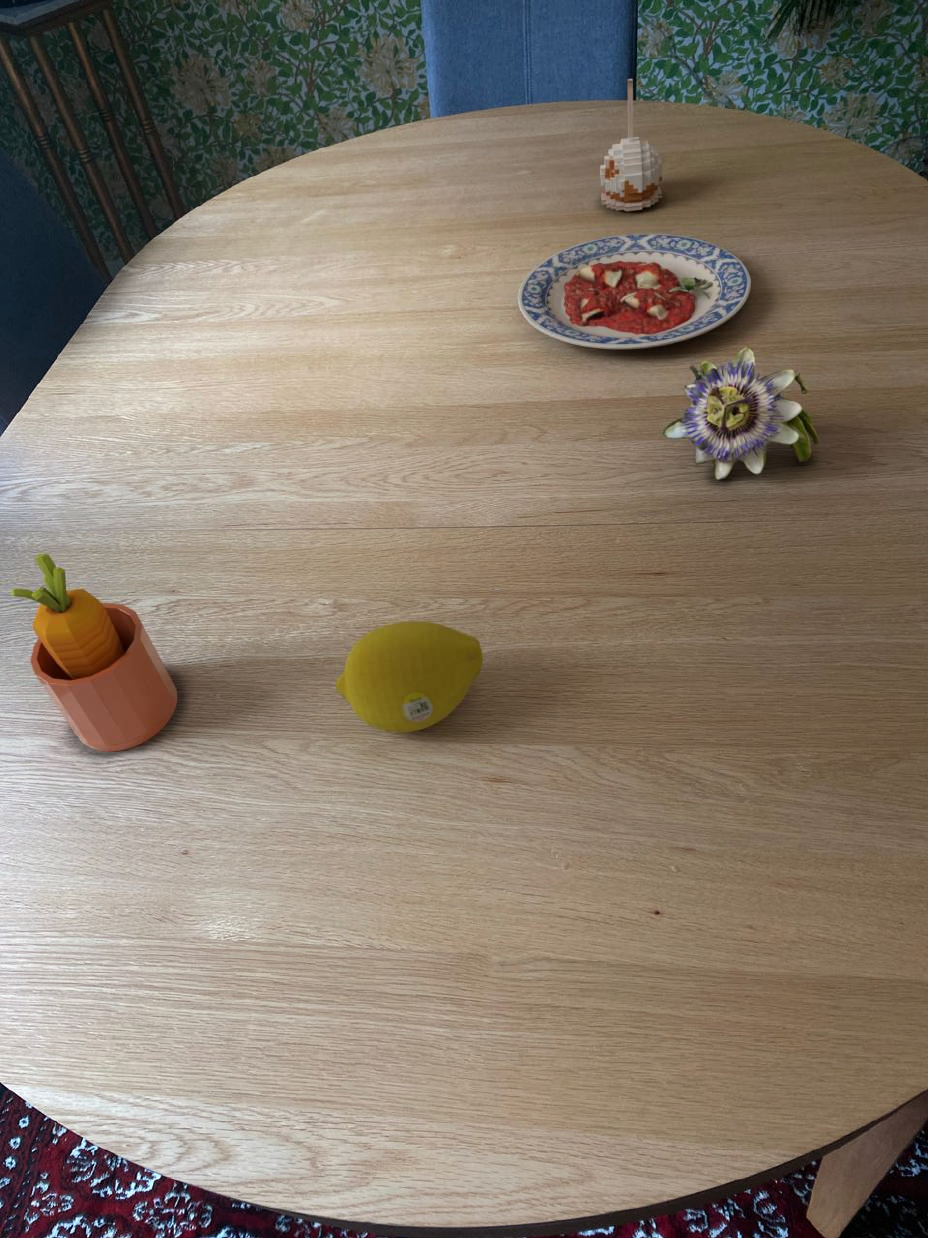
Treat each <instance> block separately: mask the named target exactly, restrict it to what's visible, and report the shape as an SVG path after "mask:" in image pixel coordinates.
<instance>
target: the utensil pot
mask: <svg viewBox="0 0 928 1238" xmlns="http://www.w3.org/2000/svg"><path fill="white" fill-rule="evenodd" d="M101 603H102V605H103V606H104V608H105V610H106V612H107V614H108V616H109V618H110V620H111V622H112V624H113V626H114V628H115V630H116V632H117V635H118V637H119V639H120V641H121V644H122V648H123V651H124V655H123V656H122V657H121V658H120V659H119V660H117V661H116V662H115V663H114V664H113V665H112V666H110V667H109V668H107V669H105V670H103V671H101V672H99V673H97V674H94V675H92V676H90V677H86V678H80V679H75V680H73V679H71V678H70V677H69V676H68V675H67V674H66V673H65V672H64V670H63V669H62V668H61V667H60V666H59V665H58V664H57V662H56V661H55V660H54V658H53V657H52V656H51V654H50V653H49V652H48V650H47V649H46V648H45V646H44V645H43V643H42V642H41V640H40V639H39V638H37V640H36V642H35V643H34V644H33V648H32V652H31V655H30V656H31V657H30V665H31V667H32V671H33V673H34V676H35V677H36V678H37V680H38V681H39V683H40V684H41V686H42V687H43V689H44V690H45V691H46V693H47V695H48V696H49V698H50V699H51V701H52V702H53V703H54V705H55V706H56V708H57V709H58V711H59V712H60V713H61V715H62V717H63V719H64V720H65V721H66V723H67V724H68V725H69V727H70V728H71V730H72V731H73V733H74V735H75V736H76V737H78V739H79V740H80V742H81V743H83V744H84V746H87V747H89V748H90V749H92V750H95V751H99V752H107V753H109V752H121V751H124V750H125V751H126V750H128V749H132V748H135V747H137V746H139V745H141V744H143V743H145V742H147V741H149V740H151V739H152V738H153V737H154V736H156V735H157V734H158V733H160V732H161V731H162V730H163V729H164V728H165V727H166V725H168V723H169V721H170V720H171V718H172V717H173V715H174V713H175V711H176V707H177V704H178V690H177V688H176V685H175V683H174V682H173V680H172V678H171V676H170V674H169V672H168V670H167V668H166V667H165V664H164V663H163V661H162V659H161V656H160V654H159V653H158V651H157V649H156V647H155V646H154V644H153V642H152V640H151V637H150V636H149V635H148V632H147V631H146V629H145V626H144V624H143V622H142V621H141V619H140V617H139V615H138V613H137V611H135V610H133V609H132V608H130V607H128V606H126V605H124V604H122V603H114V602H113V603H112V602H101Z"/></svg>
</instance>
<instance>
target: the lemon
mask: <svg viewBox="0 0 928 1238" xmlns="http://www.w3.org/2000/svg"><path fill="white" fill-rule="evenodd" d="M483 665H484V663H483V651H482V648H481V644H480V641H479V640H478V639H477V638H476V637H475V636H473V635H469V634H467V633H463V632H461V631H458V630H456V629H453V628H452V627H449V626H446V625H443V624H441V623H440V624H439V623H435V622H432V621H420V620H419V621H417V620H415V621H401V622H395V623H390V624H387V625H384V626H383V625H382V626H380V627H378V628H376V629H373V630H371V631H370V632H368V633H366V634H365V635H363V636H362V637H361V638H360V639H359V640H358V641H357V642H355V643H354V645H353V646H352V648H351V649H350V651H349V652H348V656H347V658H346V660H345V666H344V671H343V672H342V673H341V675H340V676H339V677H338V678H337V679H336V683H335V688H336V691H337V692H338V695H340V696H341V697H342V698H344V699H345V700H346V701H347V702H348V703H349V704H350V705H351V707H352V710H353V711H354V713H355V715H356V716H357V717H358V718H359V719H360V720H361V721H362V722H364V723H365V724H367V725H369V726H370V727H372V728H374V729H377V730H380V731H384V732H389V733H396V734H401V733H413V732H417V731H420V730H424V729H427V728H429V727H431V726H433V725H435V724H438V723H439V722H441V721H443V719H445V718H447V717H448V716H450V714H451V713H452V712H454V711H455V710H456V709H457V707H458V706H459V705H460V704H461V703H462V702H463V700H464V698H465V697H466V695H467V693H468V691H469V689H470V687H471V685H472V684H473V682H474V681H475V679H476V678H477V677H478V675H479V674H480V673H481V671H482V668H483Z"/></svg>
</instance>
